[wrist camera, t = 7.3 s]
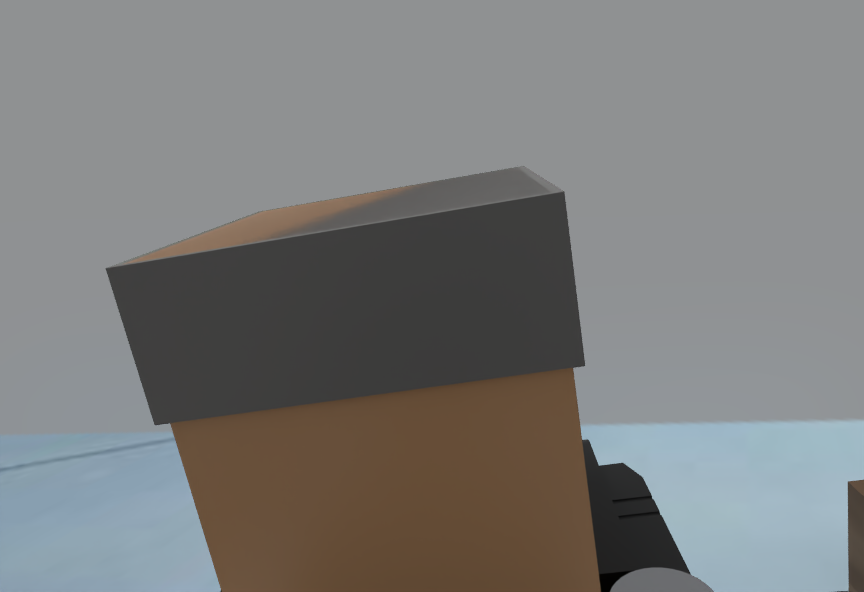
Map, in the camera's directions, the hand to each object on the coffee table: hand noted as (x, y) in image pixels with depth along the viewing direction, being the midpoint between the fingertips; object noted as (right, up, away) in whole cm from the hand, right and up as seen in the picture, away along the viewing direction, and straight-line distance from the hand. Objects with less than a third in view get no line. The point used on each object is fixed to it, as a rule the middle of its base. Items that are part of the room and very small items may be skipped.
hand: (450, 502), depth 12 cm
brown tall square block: (+1, -8, -1) cm, 8 cm away
